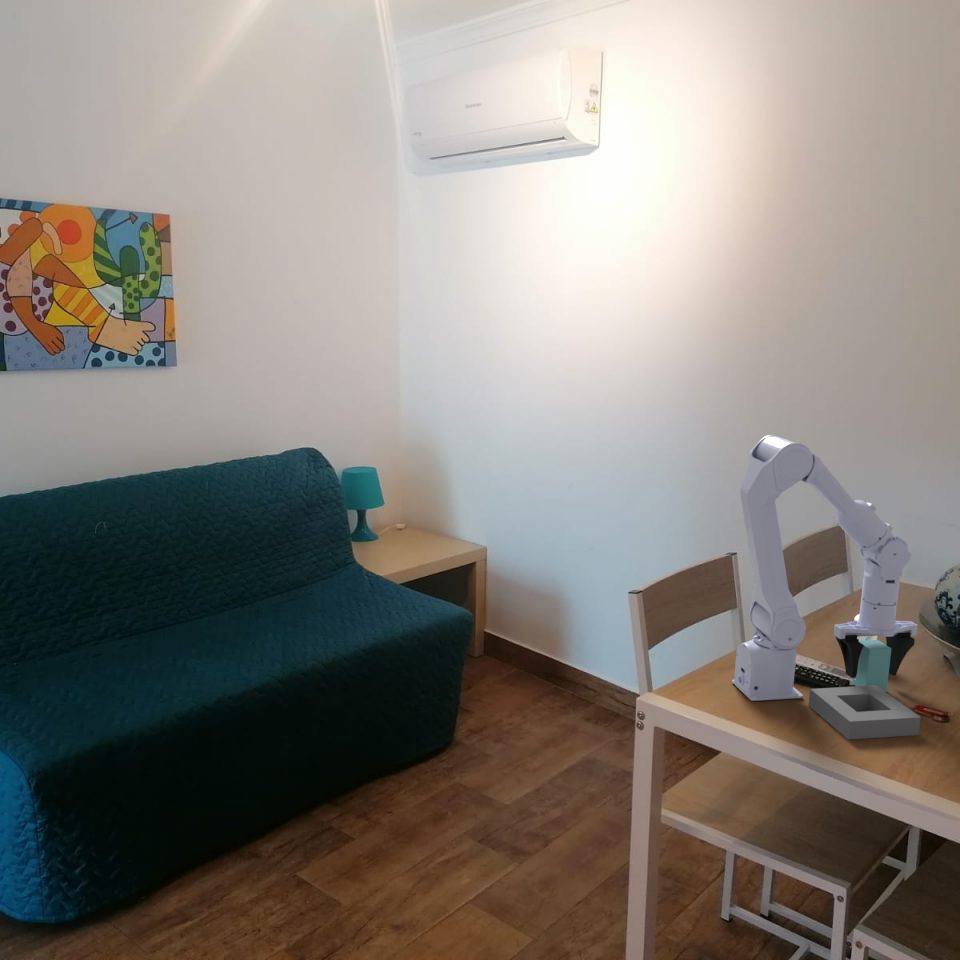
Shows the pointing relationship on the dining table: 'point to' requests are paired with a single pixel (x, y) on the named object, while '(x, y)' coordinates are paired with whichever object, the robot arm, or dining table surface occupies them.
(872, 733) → the socket block
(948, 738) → the dining table surface
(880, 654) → the peg
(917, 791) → the dining table surface
